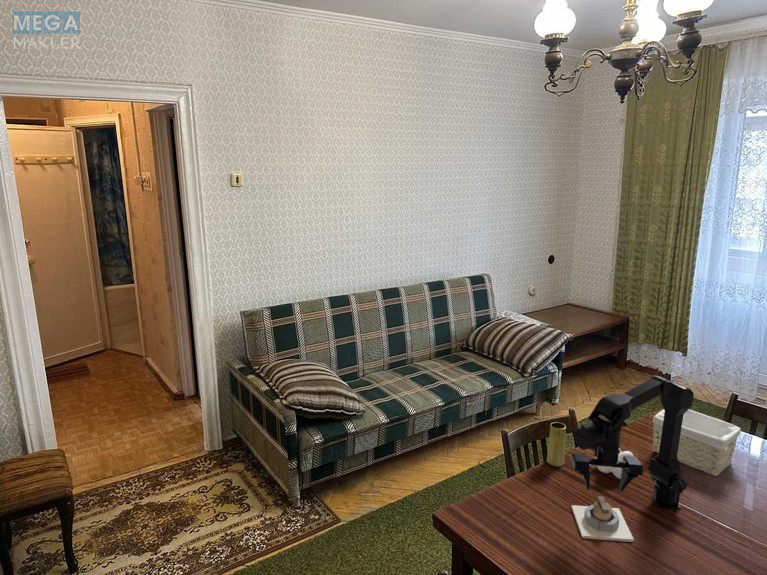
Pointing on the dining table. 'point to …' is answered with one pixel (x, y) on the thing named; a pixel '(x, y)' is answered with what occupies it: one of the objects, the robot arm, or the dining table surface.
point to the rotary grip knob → (602, 510)
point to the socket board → (601, 525)
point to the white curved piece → (615, 470)
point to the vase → (556, 444)
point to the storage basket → (701, 441)
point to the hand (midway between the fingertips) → (603, 490)
